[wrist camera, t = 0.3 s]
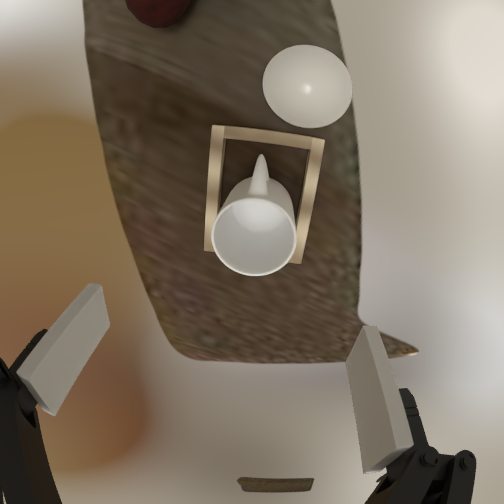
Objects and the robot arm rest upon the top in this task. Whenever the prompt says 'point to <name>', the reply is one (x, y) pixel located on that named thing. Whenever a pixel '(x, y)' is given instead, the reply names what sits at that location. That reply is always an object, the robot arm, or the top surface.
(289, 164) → the top surface
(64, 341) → the robot arm
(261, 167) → the mug
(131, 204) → the top surface
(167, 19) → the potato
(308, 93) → the plate
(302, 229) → the wooden picture frame
